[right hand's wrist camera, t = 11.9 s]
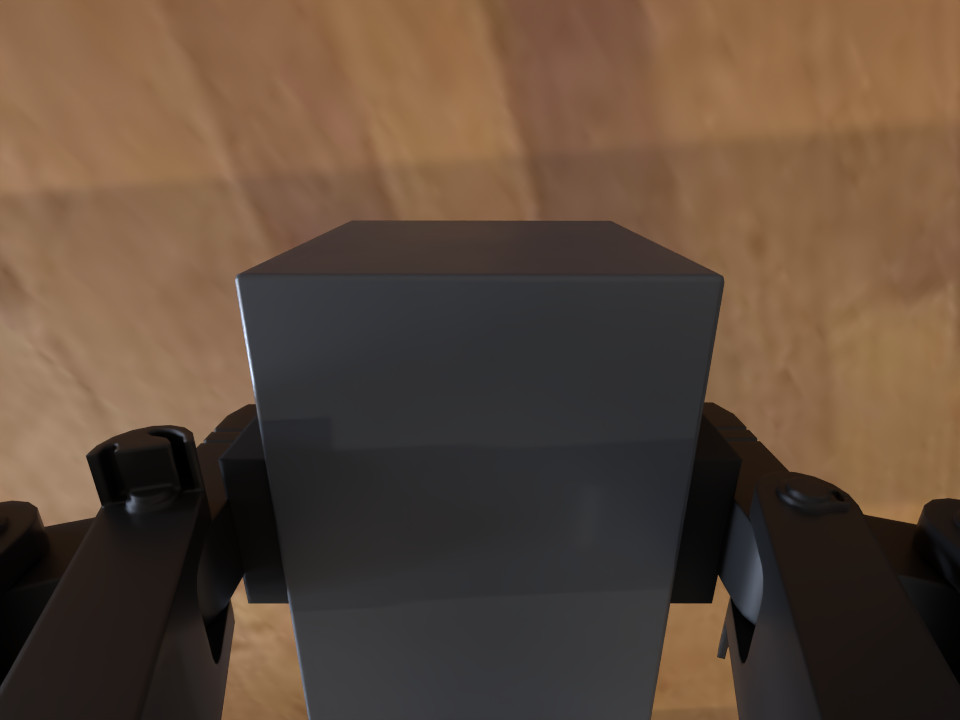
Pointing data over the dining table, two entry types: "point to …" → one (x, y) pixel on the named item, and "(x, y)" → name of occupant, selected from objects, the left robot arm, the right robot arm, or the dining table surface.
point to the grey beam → (479, 461)
